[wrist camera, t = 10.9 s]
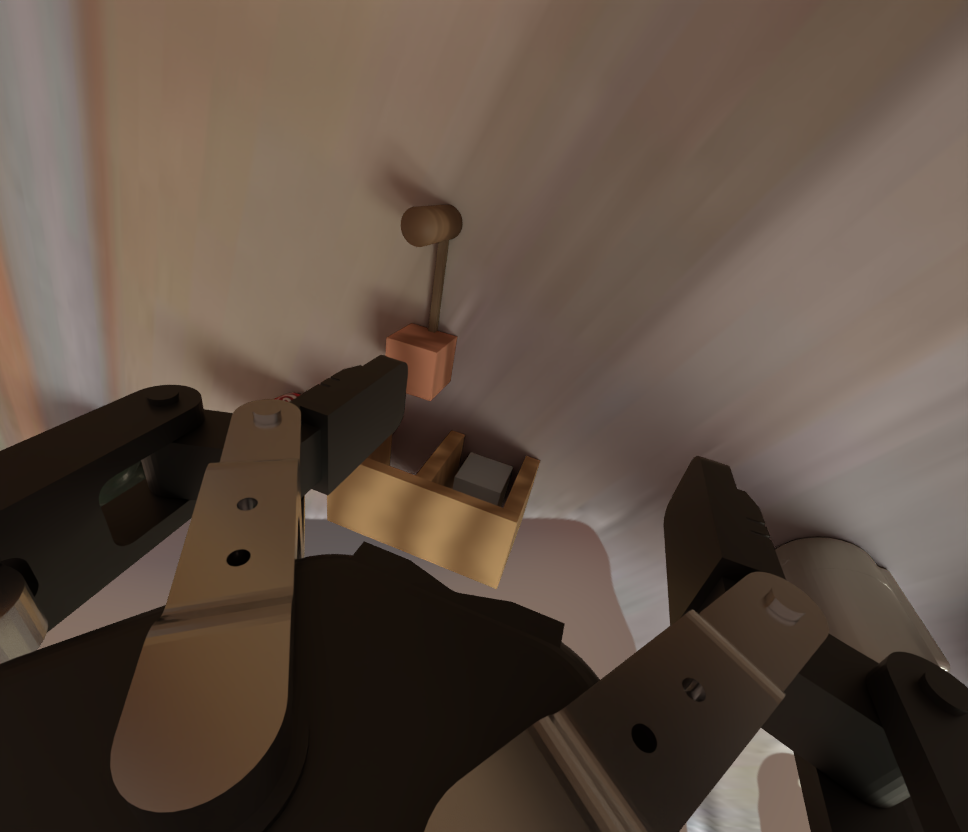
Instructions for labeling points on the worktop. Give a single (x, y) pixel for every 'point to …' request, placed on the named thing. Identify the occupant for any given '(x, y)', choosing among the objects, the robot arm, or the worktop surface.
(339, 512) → the oak shelf
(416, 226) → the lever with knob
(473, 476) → the slate block
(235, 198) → the worktop surface
